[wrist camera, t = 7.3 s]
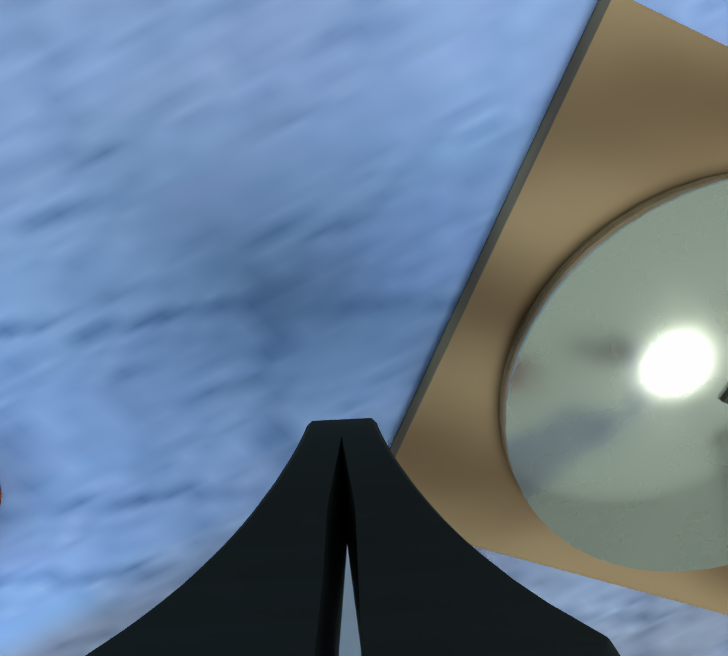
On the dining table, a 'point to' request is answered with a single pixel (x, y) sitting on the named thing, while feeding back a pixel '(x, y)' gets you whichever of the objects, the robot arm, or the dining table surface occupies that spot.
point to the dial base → (549, 253)
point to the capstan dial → (630, 388)
